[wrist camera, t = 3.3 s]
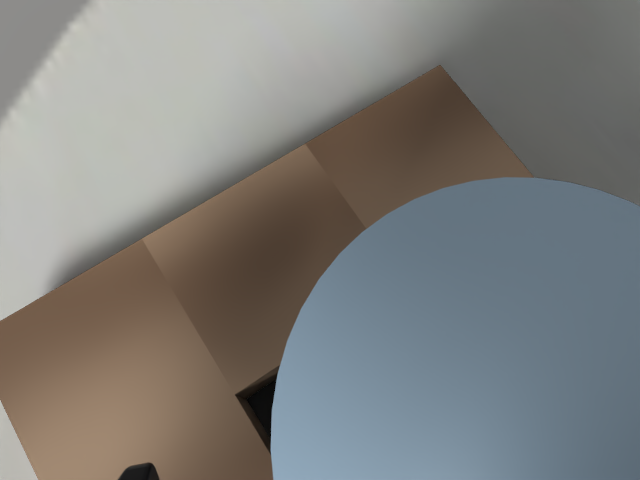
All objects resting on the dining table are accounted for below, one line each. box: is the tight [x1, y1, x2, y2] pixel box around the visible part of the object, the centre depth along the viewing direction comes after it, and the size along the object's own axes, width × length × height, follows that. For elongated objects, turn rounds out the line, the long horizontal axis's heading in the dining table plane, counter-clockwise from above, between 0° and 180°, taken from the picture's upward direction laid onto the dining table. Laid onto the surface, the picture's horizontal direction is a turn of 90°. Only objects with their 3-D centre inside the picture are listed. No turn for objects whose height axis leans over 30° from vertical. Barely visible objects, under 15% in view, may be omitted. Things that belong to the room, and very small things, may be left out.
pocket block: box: [0, 65, 534, 480], centre depth 16 cm, size 16×16×3 cm
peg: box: [271, 177, 640, 480], centre depth 11 cm, size 4×4×14 cm
